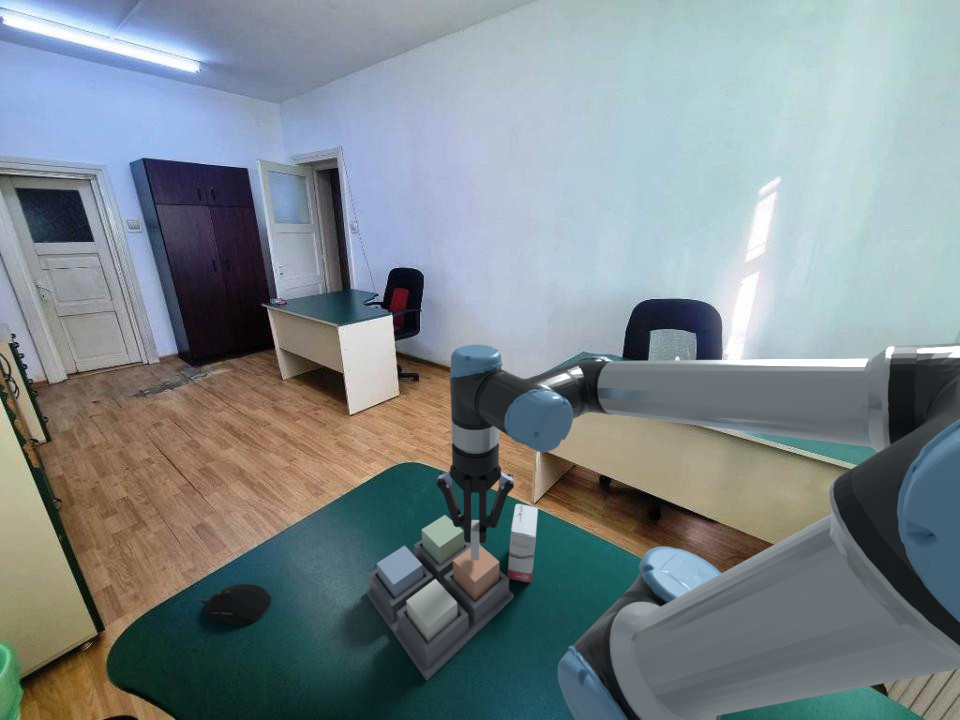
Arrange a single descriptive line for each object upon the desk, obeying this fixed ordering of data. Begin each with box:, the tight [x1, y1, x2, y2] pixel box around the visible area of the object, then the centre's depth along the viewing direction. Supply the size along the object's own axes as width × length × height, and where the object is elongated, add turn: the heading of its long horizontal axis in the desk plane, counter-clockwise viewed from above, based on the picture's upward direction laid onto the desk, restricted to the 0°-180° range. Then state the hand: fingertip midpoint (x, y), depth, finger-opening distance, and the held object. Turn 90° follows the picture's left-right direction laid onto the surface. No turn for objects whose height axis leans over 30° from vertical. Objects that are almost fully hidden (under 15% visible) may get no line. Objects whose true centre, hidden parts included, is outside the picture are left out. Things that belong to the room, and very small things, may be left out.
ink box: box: [507, 503, 539, 583], centre depth 76 cm, size 9×5×12 cm, turn 169°
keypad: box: [365, 539, 515, 682], centre depth 70 cm, size 20×20×5 cm
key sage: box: [421, 514, 464, 566], centre depth 75 cm, size 6×6×5 cm
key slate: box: [376, 545, 423, 600], centre depth 69 cm, size 6×6×5 cm
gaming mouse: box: [196, 583, 272, 627], centre depth 69 cm, size 6×15×4 cm, turn 81°
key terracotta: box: [453, 544, 500, 602], centre depth 68 cm, size 6×6×5 cm
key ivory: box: [406, 579, 458, 644], centre depth 62 cm, size 6×6×5 cm
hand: (475, 553), depth 67 cm, fingers closed
